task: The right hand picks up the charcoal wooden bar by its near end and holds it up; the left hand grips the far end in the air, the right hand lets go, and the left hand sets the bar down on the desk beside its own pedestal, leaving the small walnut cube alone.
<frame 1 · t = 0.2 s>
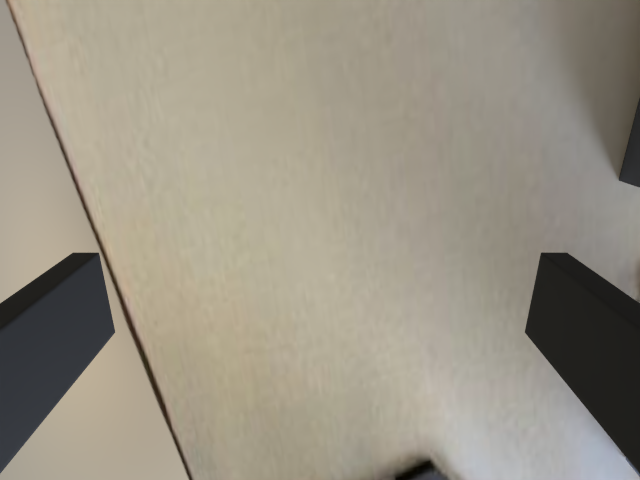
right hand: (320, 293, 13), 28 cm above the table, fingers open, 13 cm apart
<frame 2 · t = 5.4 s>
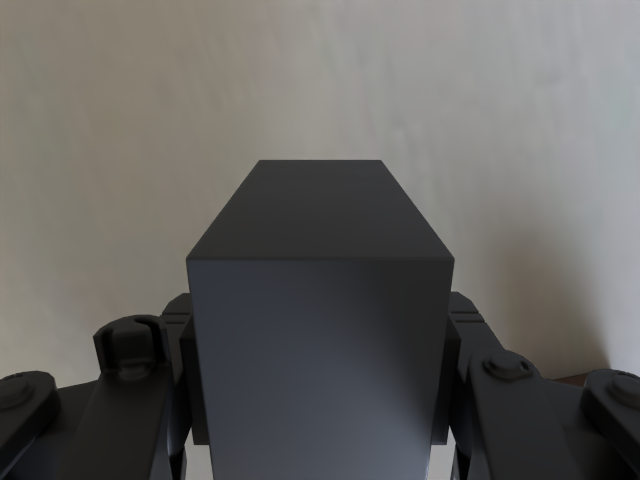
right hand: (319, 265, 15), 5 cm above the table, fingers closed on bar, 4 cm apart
bar: (320, 439, 18), point 4 cm above the table, touching right hand
when the right hand's fingers open (11 cm above the table, at t = 9.9 s): bar stays where it is, held by the left hand.
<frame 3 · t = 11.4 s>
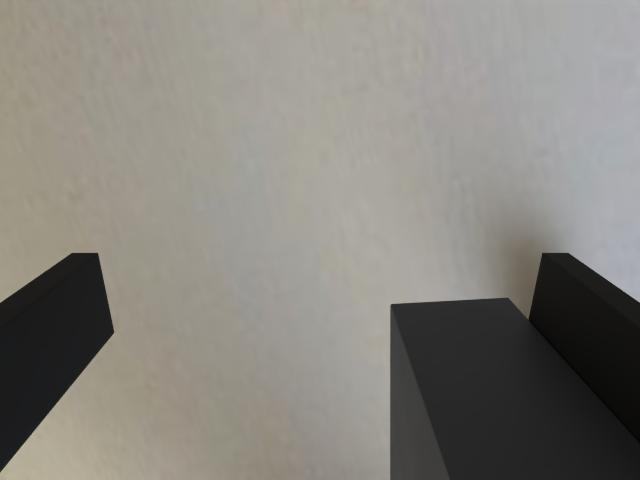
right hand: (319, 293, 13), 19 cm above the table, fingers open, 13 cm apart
when the left hand's fingers open (5 cm above the table, at t = 17.7 s): bar stays where it is, on the table.
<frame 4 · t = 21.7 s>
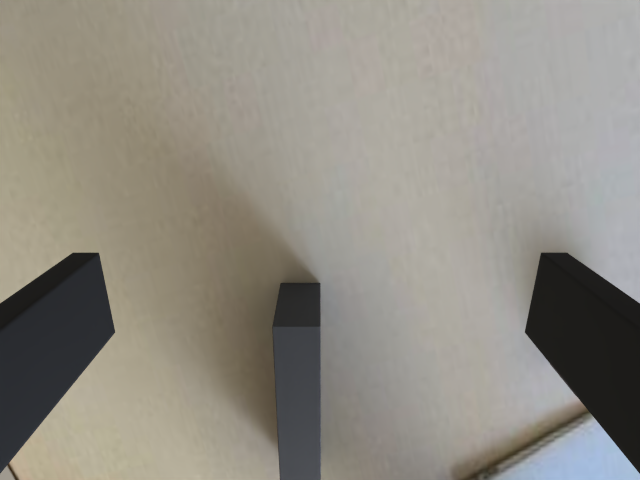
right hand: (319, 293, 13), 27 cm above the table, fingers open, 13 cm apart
bar: (302, 379, 47), on the table
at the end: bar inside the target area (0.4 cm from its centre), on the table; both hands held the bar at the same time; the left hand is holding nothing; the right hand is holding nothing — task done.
